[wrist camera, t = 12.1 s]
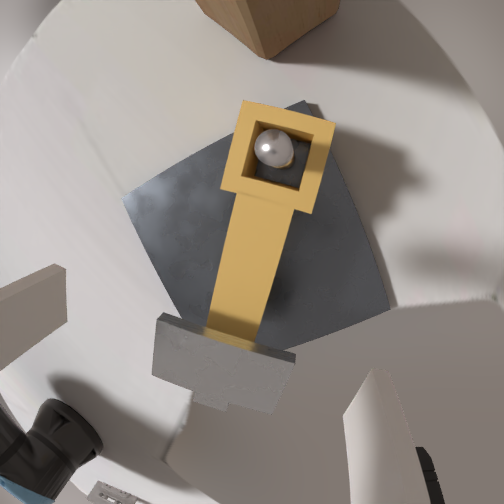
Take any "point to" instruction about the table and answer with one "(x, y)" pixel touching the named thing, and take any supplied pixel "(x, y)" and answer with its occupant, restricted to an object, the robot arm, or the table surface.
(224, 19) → the wooden block
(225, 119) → the table surface
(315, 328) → the base
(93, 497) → the cassette
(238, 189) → the link
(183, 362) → the block
